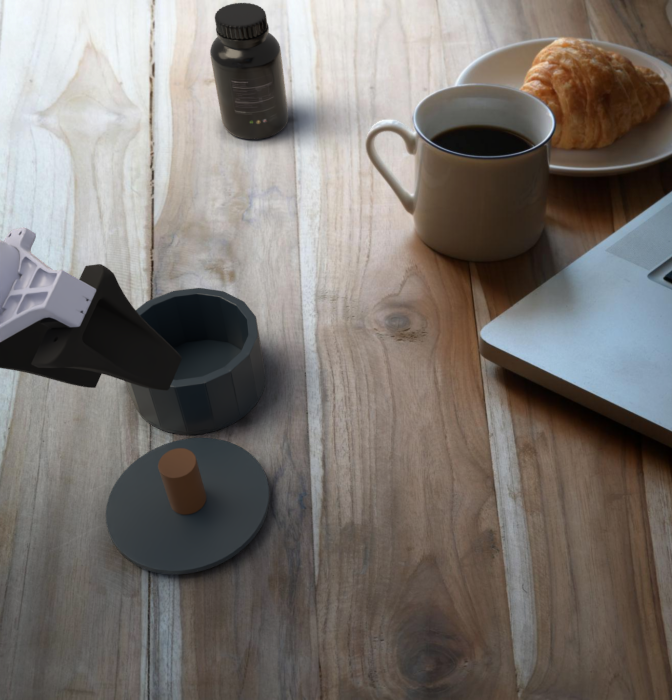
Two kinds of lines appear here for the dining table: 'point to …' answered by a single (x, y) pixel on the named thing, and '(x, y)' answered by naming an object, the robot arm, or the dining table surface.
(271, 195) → the dining table surface
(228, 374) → the pot
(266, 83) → the supplement bottle
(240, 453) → the lid
